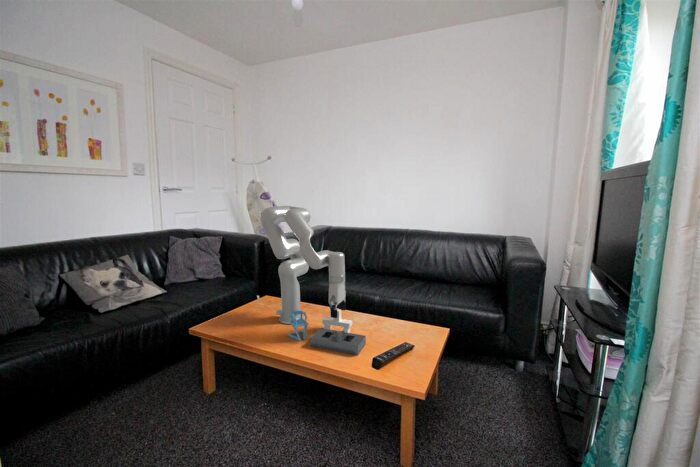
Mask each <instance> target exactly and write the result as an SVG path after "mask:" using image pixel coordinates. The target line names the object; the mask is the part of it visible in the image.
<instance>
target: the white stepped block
mask: <svg viewBox="0 0 700 467" xmlns="http://www.w3.org/2000/svg"><path fill="white" fill-rule="evenodd" d="M336 309H337V318H332V317H331V316H324V317H323V318H322V322H321V324H323V329H329V330H332V328H333V327H332V326H334V327H341V328H343V332H346V333H351V331H352V330H351V327H352V326H353V320H350V319H345V318H342V310H341V309H339V308H336Z"/></svg>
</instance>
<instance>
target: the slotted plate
mask: <svg viewBox="0 0 700 467" xmlns="http://www.w3.org/2000/svg"><path fill="white" fill-rule="evenodd" d="M366 341H367V337H366V335H365V334H358V333H351V332H350V333H346V332H344V331H340V330H335V329H330V330H329V329H324V327H323V328H319V329H318V330H317V331H315V333H313V334H312V335H311V336H310V337H309V343H310V344H309V346H310V347H313V348H318V349H323V350H329V351H334V352H339V353H345V354H349V355H355V356H359V355H360V353H361V352H362V351H363V349H364V348H365V346H366V345H367V342H366Z"/></svg>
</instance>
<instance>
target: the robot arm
mask: <svg viewBox="0 0 700 467" xmlns="http://www.w3.org/2000/svg"><path fill="white" fill-rule="evenodd" d="M310 221H311V213H310V211H309V210H307V208H304V207H298V206H291V205H279V206H278V205H277V206H275V205H274V206H269V207H267V208H264V210H262V211H261V215H260V225H261V227H262V229H263V231H264V233H265V235H266V236H267V239H268V242H269V244H270V247H271V249H272V252H273V254H274V256H275V257H276V259H278V260H285V259H287V260H285V261H283V262H281V263H280V265H278V269H277V270H278V271H277V272H278V276H279V277H278V278H279V280H280V295H281V296H280V298H281V309H279V308H278V309H277V310H276V312H275V314H276V315H279V317H278V321H279V322H280V323H281V324H284V325H291V324H290V321H291V316H290V314H291V313H292V312H294V311H297V310H299V311H301V290H300V288H301V286H300V282H299V280H298V278H297V277H300V276H303V275H305V274H306V273H308V271H309V269H310V268H311V269H313V270H318V269H319V270H320V269H322V268H325V267H328V282H329V286H328V306H329V309H330V317H332V318H337V309H341V311H346V293H347V291H346V284H345V283H346V264H345V260H346V259H345V253H343V252H341V251H332V250H329V249H328V250H327V249H325V250H320V251H317V252H316V251H315V250H314V247H313V246H312V244H311V238H312V237H313V236H314V234H315V233H314V229H313V228H312V227H311V225H310V224H309V223H310ZM278 223H286V224H287V225H288V227H289V229H291V231H292V233H293V234H294V235H295V237H296V238H297V239H298V240H297V239H296V238H287V237H286V234H285V232H284V231H283V228H282V227H280V225H278ZM288 258H290V259H288ZM337 307H338V308H337ZM295 317H296V320H298V319H301V314H297V315H295ZM304 317H305V316H304V314H302V318H303V319H304V320H305V318H304ZM292 318H293V317H292ZM293 321H294V318H293Z"/></svg>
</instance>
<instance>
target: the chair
mask: <svg viewBox="0 0 700 467" xmlns="http://www.w3.org/2000/svg"><path fill="white" fill-rule="evenodd" d="M297 314H301V319H298V320H296V317H295V315H297ZM302 315H303V316H304V317H305V318H304V319H303V318H302ZM290 316H291V321H290V324H289V325H290V326H291V327H292V328H293V330H294V332H290V333H288V334H287V336H288V337H290V338H291V339H294V340H296V341H299V342H301V340H302V338H303V340H305V341H306V340H307V331H308V330H307V329H308V326H309V323H308V322H307V318H308V316H307V313H306V311H303V310H300V311H299V310H297V311H294V312H292V313H291V314H290ZM292 317H293V318H294V321H293V318H292ZM301 327H304V328H303V329H301V330H298V331H297V329H298V328H301ZM299 334H302V338H301V336H300V335H299Z"/></svg>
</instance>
